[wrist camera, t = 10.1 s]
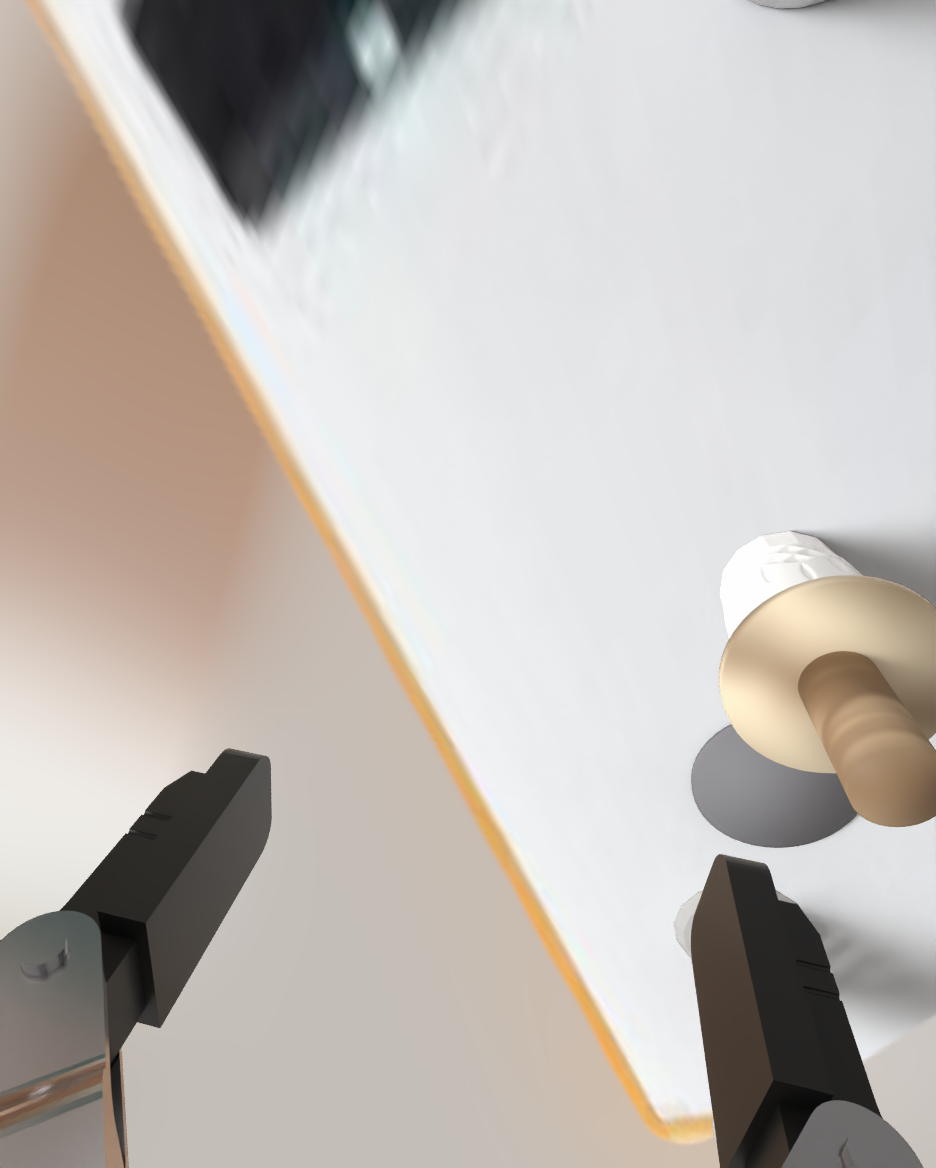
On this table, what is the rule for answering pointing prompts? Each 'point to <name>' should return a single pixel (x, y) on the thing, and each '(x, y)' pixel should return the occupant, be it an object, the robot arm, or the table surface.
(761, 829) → the mat
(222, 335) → the table surface
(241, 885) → the robot arm
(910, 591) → the lid
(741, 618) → the white cup
